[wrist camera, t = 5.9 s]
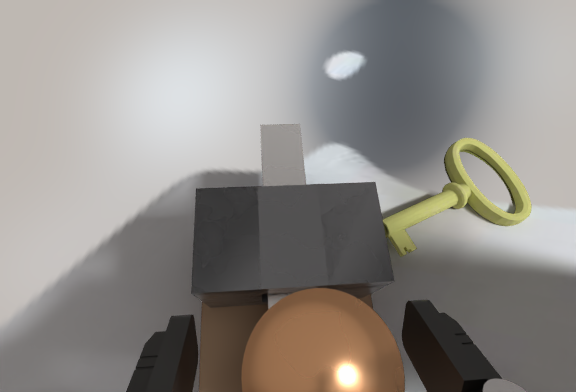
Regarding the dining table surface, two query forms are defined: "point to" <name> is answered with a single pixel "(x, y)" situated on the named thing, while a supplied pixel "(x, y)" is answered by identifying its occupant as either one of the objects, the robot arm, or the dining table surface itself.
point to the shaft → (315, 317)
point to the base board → (228, 344)
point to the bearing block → (287, 242)
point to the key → (461, 195)
